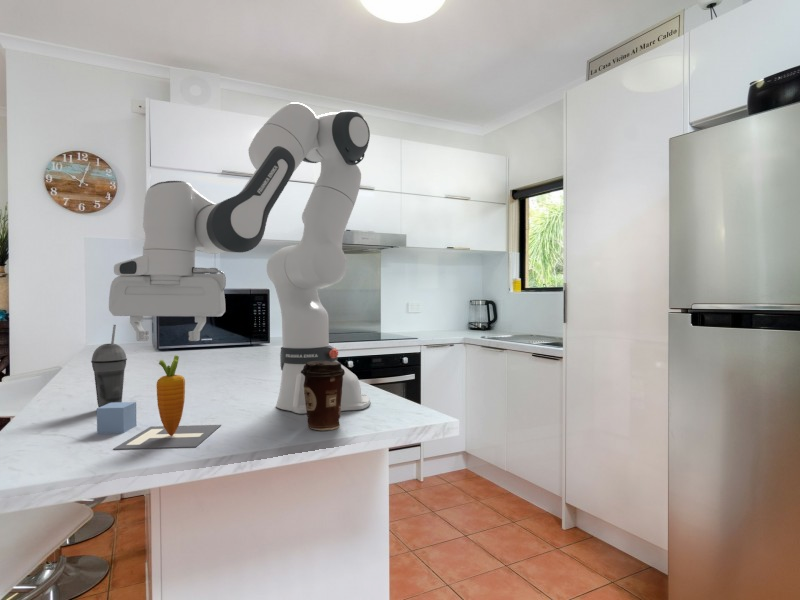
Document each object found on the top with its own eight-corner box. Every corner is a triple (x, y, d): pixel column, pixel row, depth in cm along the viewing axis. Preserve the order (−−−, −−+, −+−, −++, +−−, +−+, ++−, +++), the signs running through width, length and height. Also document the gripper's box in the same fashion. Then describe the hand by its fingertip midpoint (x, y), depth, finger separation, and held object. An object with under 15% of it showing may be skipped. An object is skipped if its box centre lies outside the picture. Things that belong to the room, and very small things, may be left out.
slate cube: (136, 426, 97) (136, 401, 97) (123, 433, 92) (123, 407, 92) (111, 426, 96) (110, 402, 96) (97, 434, 91) (96, 408, 91)
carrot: (160, 441, 85) (159, 358, 85) (154, 435, 89) (153, 356, 89) (189, 436, 88) (188, 356, 88) (182, 430, 92) (181, 354, 92)
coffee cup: (302, 434, 89) (302, 366, 89) (299, 423, 97) (298, 360, 97) (348, 430, 92) (347, 364, 92) (341, 419, 100) (340, 358, 100)
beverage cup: (94, 407, 113) (93, 324, 113) (129, 404, 116) (128, 323, 116) (88, 414, 106) (87, 326, 106) (126, 410, 109) (124, 325, 109)
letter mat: (221, 425, 96) (221, 424, 96) (196, 447, 82) (196, 446, 82) (150, 427, 95) (150, 426, 95) (113, 449, 81) (113, 448, 81)
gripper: (230, 269, 92) (229, 339, 92) (122, 267, 91) (121, 339, 91) (220, 266, 86) (219, 342, 86) (104, 265, 85) (103, 342, 85)
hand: (168, 340), depth 88 cm, fingers open, 8 cm apart
